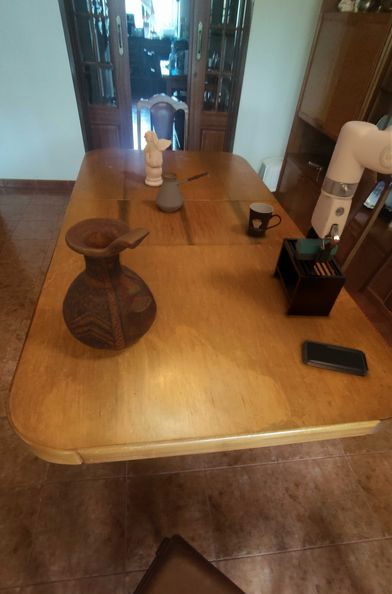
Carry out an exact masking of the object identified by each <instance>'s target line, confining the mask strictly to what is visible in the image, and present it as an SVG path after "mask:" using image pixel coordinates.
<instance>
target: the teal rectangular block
mask: <svg viewBox="0 0 392 594" xmlns="http://www.w3.org/2000/svg"><path fill="white" fill-rule="evenodd" d="M297 239H298V240H297V243H296V246H295V247H296V251H295V256H296V258H297V260H315V258H316V255H317V252H318V250H319V248H321V241H322V239H321V238H318V239H306V237H305V238H303V237H301V238H300V237H298V238H297ZM328 242H330V240H326V242H325V244H327V243H328ZM338 248H339V245H338V244H337V245H336V246H335V248H333V250H332V251H331V253H330V255H329V258H328V260H327V262H328V261H331V259H332V257H333V258H334V256H335V255H336V253H337V250H338Z"/></svg>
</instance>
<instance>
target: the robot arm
mask: <svg viewBox="0 0 392 594" xmlns="http://www.w3.org/2000/svg"><path fill="white" fill-rule="evenodd" d="M366 168H367V169H369V170H371V171H374V172H377V173H379V174H383V175H392V124H391V125H389V126H388V127H386V128H385V129H384V130H380V129H379V127H378V126H377V125H375V124H374V123H371V122H367V121H362V120H361V121H360V120H351V121H347V122H346V123H344V124H343V125H342V127H341V129H340V132H339V134H338V137H337V141H336V144H335V146H334V150H333V152H332V156H331V159H330V161H329V164H328V168H327V171H326V174H325V176H324V180H323V183H322V184H321V185H322V186H321V187H320V191H321V193H320V195H319V196H318V200H317V201H316V205H315V207H314V208H313V210H312V214H311V215H312V216H311V218H310V224H309V225H308V230H307V233H306V236H305V239H322V241H321V248H319V250H318V252H317V255H316V258H315V260H314V261H315V263H317V264H319V263H322V264H324V263H327V262H328V261H327V260H328V258H329V255H330V253H331V251H332V250H333V248H335V246H336V245H338V244H339V242H340V239H341V236H342V233H343V231H344V228H345V226H346V223H347V219H348V216H349V213H350V209H351V206H352V202H353V199H352V198H354V196H355V193H356V191H357V189H358V186H359V183H360V181H361V179H362V177H363V174H364V171H365V169H366ZM326 240H330V242H328V243H327V244H325V242H326Z"/></svg>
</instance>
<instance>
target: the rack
mask: <svg viewBox="0 0 392 594" xmlns="http://www.w3.org/2000/svg"><path fill="white" fill-rule="evenodd" d="M297 240H298V238H296V237H295V238H293V237H283V240H282V243H281V246H280V249H279V253H278V257H277V261H276V264H275V268H274V271H273V274H272V276H273V278H280V280H281V282H282V285H283V288H284V290H285V293H286V296H287V299H288V302H289V305H288V308H287V310H286V315H287V316H298V317H299V316H300V317H329V316H330V314H331V312H332V310H333V308H334V306H335V304H336V302H337V299H338V297H339V295H340V293H341V291H342V290H343V288H344V285H345V283H346V282H347V279H348V278H347V276H346V275H345V273H344V272H343V271H342V269H341V267H340V265H339V264H338V262H337V261H336V259H335V258H334V256H333V257H332V259H331V261H327V262H328V263H327V262H326V263H315V261H314V260H297V258H296V256H295V251H296V247H295V246H296V243H297ZM323 264H324V265H323ZM328 264H329V265H330V266H329V265H328ZM319 266H320V267H319ZM325 267H326V268H325ZM330 267H331V268H330ZM320 268H321V269H320ZM326 269H327V270H326ZM331 269H332V270H331ZM321 270H322V271H323V273H324V274H323V273H322V271H321ZM327 271H328V272H329V274H328V272H327Z"/></svg>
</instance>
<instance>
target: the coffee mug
mask: <svg viewBox="0 0 392 594" xmlns="http://www.w3.org/2000/svg"><path fill="white" fill-rule="evenodd" d="M274 210H275V209H274V207H273V205H270V204H268V203H264V202H253V203H251V204H250V205H249V212H248V213H249V216H248V227H247V228H248V229H247V234H248V236H249V237H252V238H256V239H260V238H264V237H265V234H266V232H267V230H270V229H273V228H275V227H277V226H279V225H280V224H281V223H282V217H281V215H279V214H277V213H276V214H273V213H274ZM274 217H277V218H279V222H278V223H276V224H274V225H271V226H269V224H270V220H272V219H273V218H274Z"/></svg>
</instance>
